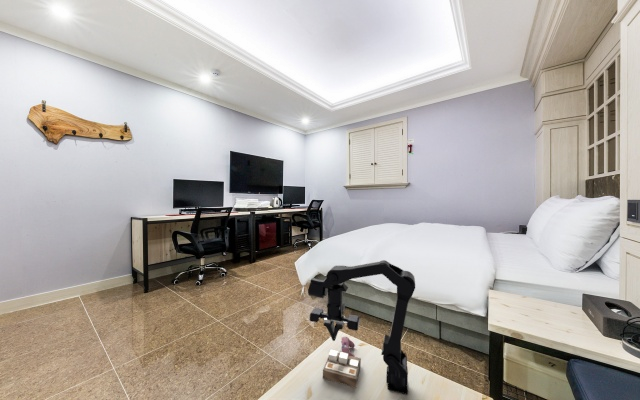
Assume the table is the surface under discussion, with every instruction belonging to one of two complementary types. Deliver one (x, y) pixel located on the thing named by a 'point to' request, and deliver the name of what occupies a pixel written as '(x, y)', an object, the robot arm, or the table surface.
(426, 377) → the table surface
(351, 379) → the keypad
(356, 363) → the key
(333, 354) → the key
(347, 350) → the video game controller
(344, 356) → the key middle
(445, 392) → the table surface
